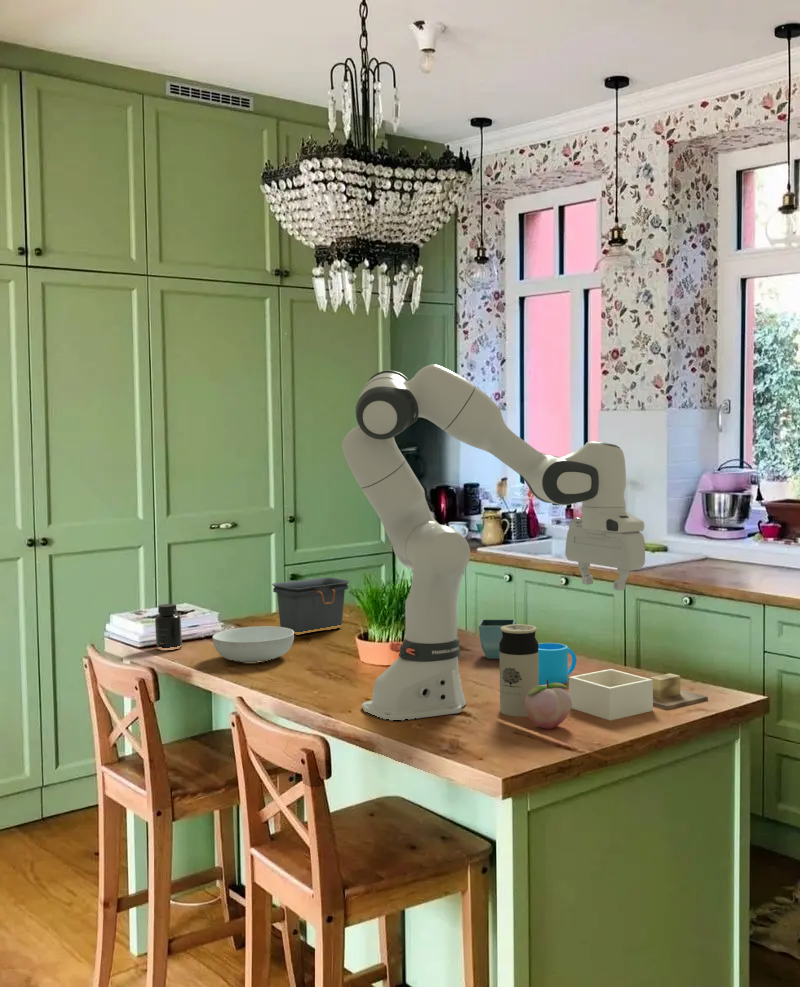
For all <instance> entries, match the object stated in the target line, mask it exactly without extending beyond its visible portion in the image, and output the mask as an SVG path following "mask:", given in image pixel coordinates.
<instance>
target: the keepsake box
mask: <svg viewBox="0 0 800 987" xmlns="http://www.w3.org/2000/svg"><path fill="white" fill-rule="evenodd" d="M568 688H569V689H568V694H569V696H570V698H571V701H572V707H571V710H576V711H579V712H582V713H585V714H588V715H591V716H594V717H598V718H600V719H603V720H607V721H614V720H619V719H623V718H628V717H631V716H635V715H640V714H645V713H648V712H653V711H654V706H653V680H652V679H650V678H648V677H644V676H640V675H637V674H632V673H629V672H625V671H620V670H618V669H617V670H616V669H615V668H609V669H602V670H598V671H594V672H588V673H582V674H578V675H572V676H568Z"/></svg>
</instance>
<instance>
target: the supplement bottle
mask: <svg viewBox="0 0 800 987" xmlns="http://www.w3.org/2000/svg"><path fill="white" fill-rule="evenodd" d="M157 608H158V610H157V611H158V615H157V616H156V617H155V619H154V624H155V626H154V627H155V629H154V630H155V645H157V647H162V648H170V647H177V646H180V645H182V646H183V641H182V640H183V639H182V638H183V636H182V619H181V615H179V614H178V613H177V612H178V610H177V605H176V604H175V603H165V604H159V605H158V606H157ZM157 647H156V648H157Z"/></svg>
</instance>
